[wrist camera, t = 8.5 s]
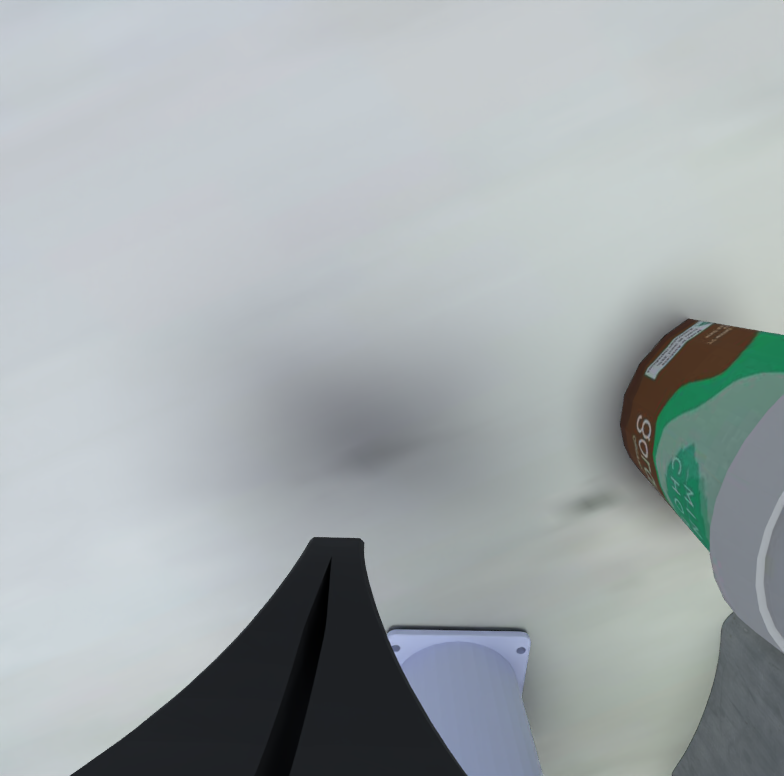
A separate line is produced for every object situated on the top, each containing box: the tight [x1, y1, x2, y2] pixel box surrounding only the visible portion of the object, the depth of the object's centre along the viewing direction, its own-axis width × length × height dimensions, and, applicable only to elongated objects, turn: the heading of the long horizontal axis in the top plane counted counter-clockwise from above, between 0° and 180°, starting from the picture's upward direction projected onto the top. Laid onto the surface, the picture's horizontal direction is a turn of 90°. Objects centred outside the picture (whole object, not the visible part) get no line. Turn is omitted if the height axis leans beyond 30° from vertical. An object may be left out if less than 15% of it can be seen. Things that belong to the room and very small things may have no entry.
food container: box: [620, 319, 784, 653], centre depth 16 cm, size 12×6×10 cm, turn 36°
